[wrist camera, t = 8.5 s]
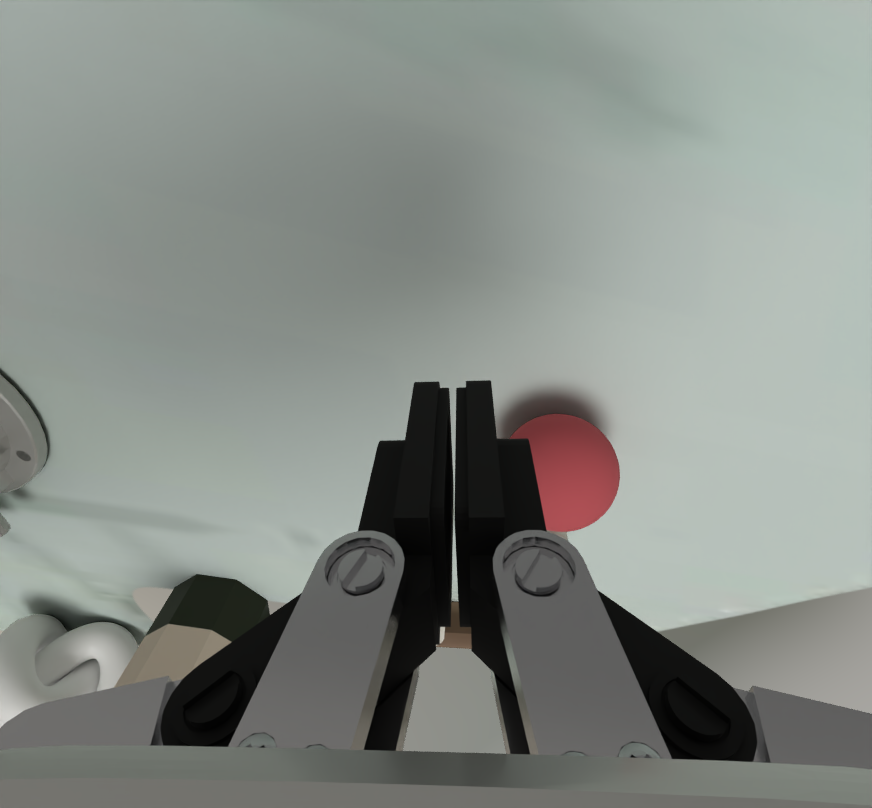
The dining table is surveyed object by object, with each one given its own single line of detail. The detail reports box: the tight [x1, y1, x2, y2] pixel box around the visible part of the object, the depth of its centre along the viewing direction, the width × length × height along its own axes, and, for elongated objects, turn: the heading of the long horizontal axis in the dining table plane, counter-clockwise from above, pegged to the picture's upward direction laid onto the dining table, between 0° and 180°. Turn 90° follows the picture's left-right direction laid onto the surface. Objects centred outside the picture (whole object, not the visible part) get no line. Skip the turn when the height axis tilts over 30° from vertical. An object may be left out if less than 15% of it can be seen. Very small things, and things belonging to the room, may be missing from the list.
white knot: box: [0, 614, 138, 728], centre depth 41 cm, size 11×12×9 cm
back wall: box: [436, 602, 472, 649], centre depth 36 cm, size 2×12×2 cm, turn 93°
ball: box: [509, 414, 620, 532], centre depth 25 cm, size 6×6×6 cm
